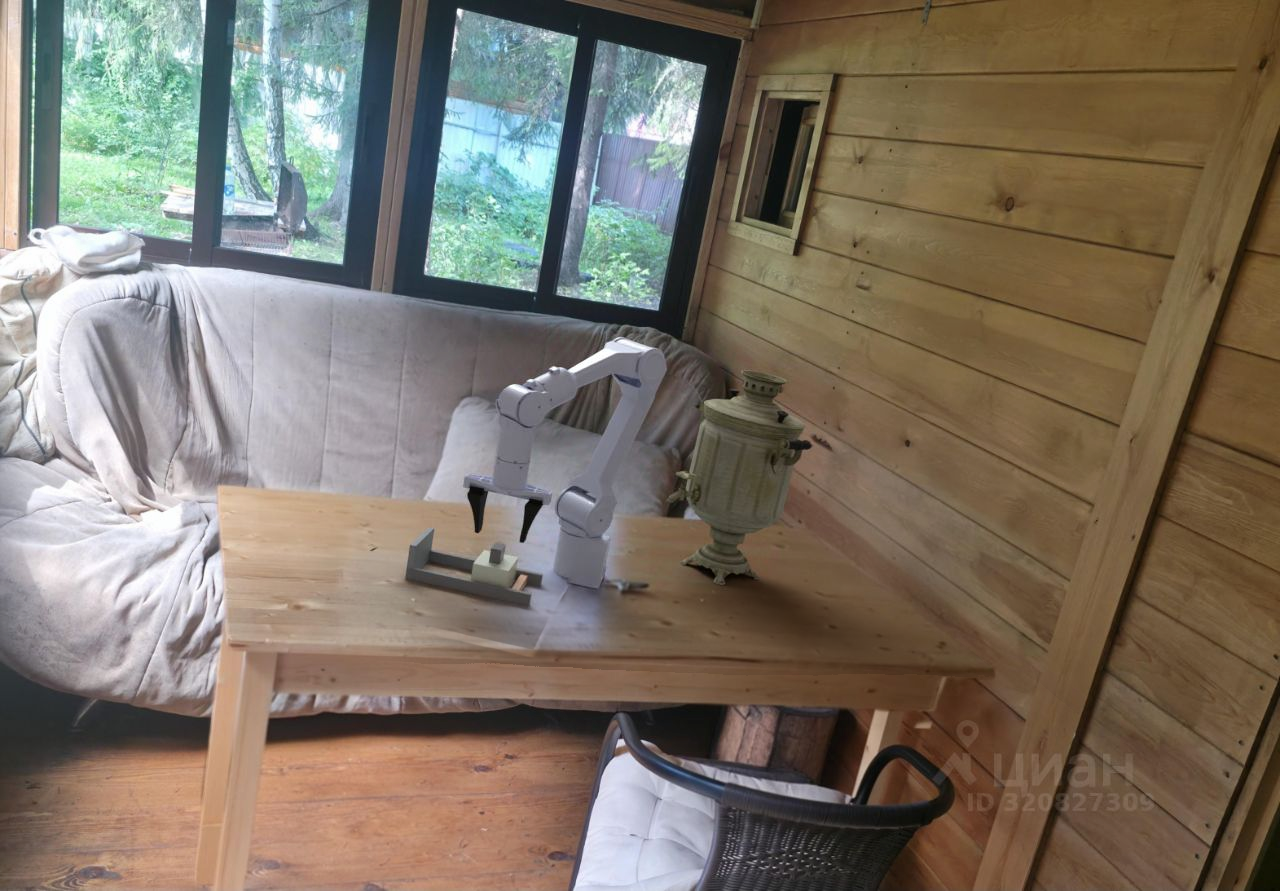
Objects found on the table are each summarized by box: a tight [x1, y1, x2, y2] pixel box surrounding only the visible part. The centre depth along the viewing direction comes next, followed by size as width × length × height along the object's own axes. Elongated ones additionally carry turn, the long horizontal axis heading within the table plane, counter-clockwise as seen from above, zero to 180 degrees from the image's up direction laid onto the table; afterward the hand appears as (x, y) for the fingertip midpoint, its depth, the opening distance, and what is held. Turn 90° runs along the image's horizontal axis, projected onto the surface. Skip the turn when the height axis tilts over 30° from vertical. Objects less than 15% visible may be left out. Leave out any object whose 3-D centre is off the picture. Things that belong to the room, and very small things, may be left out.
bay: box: [404, 526, 544, 607], centre depth 169 cm, size 21×12×7 cm, turn 83°
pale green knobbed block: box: [470, 542, 519, 588], centre depth 169 cm, size 6×7×7 cm
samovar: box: [666, 369, 814, 585], centre depth 195 cm, size 30×26×40 cm
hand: (500, 536), depth 168 cm, fingers open, 7 cm apart
